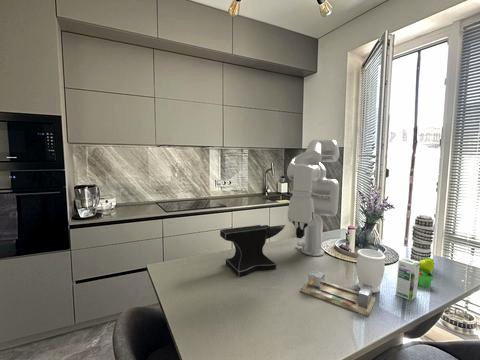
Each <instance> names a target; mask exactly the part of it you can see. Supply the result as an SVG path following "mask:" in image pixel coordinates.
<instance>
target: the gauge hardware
mask: <svg viewBox="0 0 480 360" xmlns="http://www.w3.org/2000/svg"><path fill="white" fill-rule="evenodd" d="M324 285H327V286H330V287H333V288H336V289H339V290H342V291H345V292H348V293H351V294H354V295H357V296H359V299H358V306H360V307H363V308H365V309H367V308H368V306H369V304H370V301H371V299H372V297H373V293H372V287H373V286H369V285H366V284H364V285H363V286H362V288H360V290H359V291H358V292H359V294H358V293H355V292H352V291H349V290H346V289H343V288H340V287H337V286H334V285H331V284H328V283H325V282H324ZM307 287H309V288H312V289H313V288H314V289H317V290H319V291H322V292H325V293H328V294H331V295H334V296H336V297H339V298H342V299H345V300H348V301H350V302H353V303H354V304H356V301H353V300H350V299H347V298H344V297H342V296H339V295H336V294H333V293H330V292H327V291H324V290H322V289H319V288H316V287H313V286H310V285H307Z"/></svg>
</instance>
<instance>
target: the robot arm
mask: <svg viewBox="0 0 480 360" xmlns="http://www.w3.org/2000/svg"><path fill="white" fill-rule="evenodd" d="M339 159H340V149H339V144H338V141H336V140H335V139H329V138H327V139H323V138H322V139H318V138H316V139H312V140H310V142H309V143H308V145H307V147H306V150H305V151H303V152H302V153H300V154H298V155H296V156H294V157H293V158H292V159H291V160H290V162H289V164H288V166H287V169H286V175H287V178H288V180H291V181H293V185H292V186H293V188H292V190H290V192H289V193H290V194H291V196H290V199H289V203H288V208H287V209H288V211H287V220H288V222H289V223H291V224H293V226H294V228H295V236H296V238H297V239H302V238H303V237H304V241H297V246H298V247H299V246H300V247H301V249H300V251H301V253H302V254H304V255H307V256H310V257H321V256H324V255H325V250H324V249H323V247H322V246H323V245H322V244H323V229H324V221H323V219H322V218H321V216H327V217H335V216H337V213H338V210H339V197H340V183H339V181H338V180H337V179H335V178H334V179H333V178H327V168H326V167H325V166H324V164H323V163H321V162H324V163H326V162H327V163H335V162H337V161H338V160H339ZM312 195H315V196H312ZM320 196H322V197H320ZM323 196H325V197H323ZM326 196H327V197H329V198H327V197H326Z"/></svg>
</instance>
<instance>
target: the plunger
mask: <svg viewBox="0 0 480 360" xmlns="http://www.w3.org/2000/svg"><path fill="white" fill-rule="evenodd" d="M307 276H308V277H307V279H308V280H307V282H308V285H310V286H313V287H316V288H319V289H321V288H322V287H323V286H324V281H325V277H326V274H325V272H322V271H319V270H315V269H312V270H311V271H310V272H309V273H308V275H307Z"/></svg>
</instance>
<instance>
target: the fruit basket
mask: <svg viewBox="0 0 480 360" xmlns="http://www.w3.org/2000/svg"><path fill="white" fill-rule="evenodd" d="M419 262H420V267H419V276H418V286H419V287H420V286H421V287H427V288H430V286H431V283H432V282H433V280H434V279H435V276H434V275H433V274H432V272H433V270H434V266H435V262H434V259H432V258H431V257H430V258H426V259H425V260H421V261H419Z"/></svg>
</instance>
